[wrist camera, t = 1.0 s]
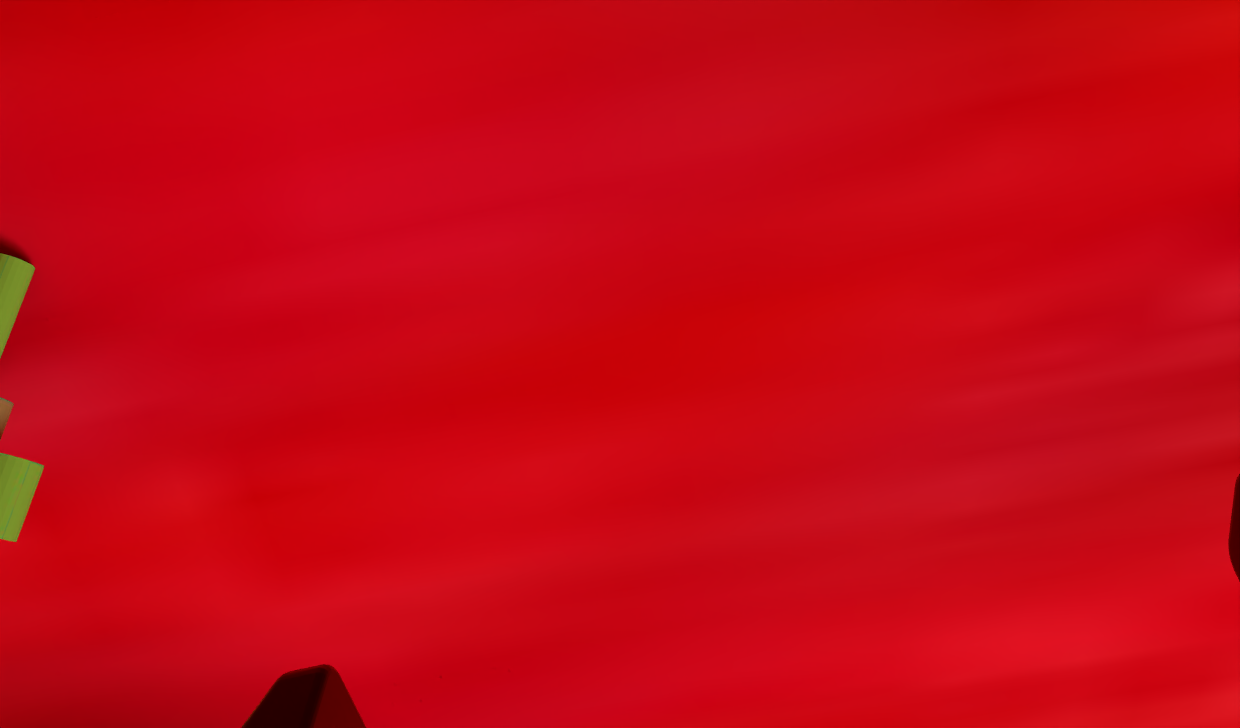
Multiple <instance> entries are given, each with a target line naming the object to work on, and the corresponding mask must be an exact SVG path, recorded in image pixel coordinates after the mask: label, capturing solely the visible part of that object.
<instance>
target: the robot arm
mask: <svg viewBox="0 0 1240 728" xmlns="http://www.w3.org/2000/svg"><path fill="white" fill-rule="evenodd" d="M1229 555H1230V559H1231V563H1232V565H1233V568H1234V571H1235V573H1236V575H1237V577H1238V579H1239V581H1240V474H1239V476H1238V477H1237V480H1236V484H1235V491H1234V499H1233V507H1232V516H1231V524H1230V533H1229ZM242 728H366V727H365V725H364V722H363V720H362V718H361V716H360V714H359V712H358V710H357V708H356V706H355V705H354V703H353V701H352V699H351V697H350V695H349V693H348V691H347V689H346V687H345V685H344V683H343V681H342V679H341V677H340V675H339V673H338V672H337V671H336V669H335V668H333V667H332V666H330V665H324V664H323V665H318V666H313V667H309V668H304V669H299V670H295V671H290V672H287V673H285V674H283V675H282V676H281V677H280V678H278V679H277V681H276V682H275V683H274V684H273V686H272V687H271V688H270V690H269V691H268V692H267V694H266V695H265V696H264V698H263V699H262V701H261V702H260V703H259V705H258V706H257V707H256V709H255V710H254V711H253V713H252V714H251V715H250V717H249V718H248V719H247V721H246V722H245V724H244V725H243V726H242Z"/></svg>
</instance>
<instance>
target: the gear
mask: <svg viewBox="0 0 1240 728" xmlns="http://www.w3.org/2000/svg"><path fill="white" fill-rule="evenodd" d="M34 270H35V267H34V266H33V265H31V264H29V263H27V262H25V261H23V260H21V259H18V258H16V257H12V256H9V255H6V254H2V253H0V358H1V355H2V353H3V350H4V347H5V345H6V342H7V340H8V337H9V335H10V332H11V329H12V327H13V324H14V322H15V319H16V317H17V314H18V311H19V309H20V306H21V304H22V301H23V299H24V296H25V293H26V291H27V288H28V286H29V283H30V281H31V278H32V275H33V273H34ZM13 405H14V404H13V403H12V402H10V401H8V400H6V399H3V398H1V397H0V439H1V437H2V434H3V431H4V429H5V426H6V423H7V421H8V418H9V415H10V413H11V410H12V407H13ZM43 468H44V466H43V465H41V464H38V463H35V462H32V461H29V460H25V459H22V458H18V457H14V456H11V455H7V454H3V453H0V539H5V540H9V541H14V542H16V541H17V539H18V536H19V533H20V530H21V528H22V525H23V522H24V520H25V517H26V514H27V511H28V509H29V506H30V503H31V501H32V498H33V495H34V492H35V490H36V487H37V484H38V482H39V479H40V476H41V473H42V471H43Z"/></svg>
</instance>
